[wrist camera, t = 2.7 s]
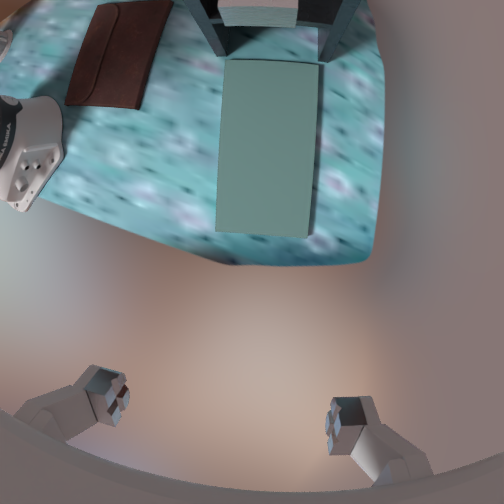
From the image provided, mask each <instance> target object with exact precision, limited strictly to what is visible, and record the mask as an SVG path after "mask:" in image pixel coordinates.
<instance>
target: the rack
mask: <svg viewBox="0 0 504 504" xmlns="http://www.w3.org/2000/svg"><path fill="white" fill-rule="evenodd" d="M183 1H184V2H185V4H186V6H187V7H188V9H189V11H190V12H191V14H192V15H193V17H194V19H195V20H196V22H197V24H198V25H199V27H200V29H201V30H202V32H203V34H204V35H205V37H206V39H207V41H208V42H209V44H210V46H211V47H212V49H213V51H214V53H215V54H216V56H217V57H218V56H227V50H228V39H229V29H230V26H225V25H224V22H223V20H222V17H221V15H220V12H219V10H218V0H183ZM360 1H361V0H298V12H297V19H296V25H299V26H309V27H317V28H318V61H319V62H327V63H328V62H329V60H330V58H331V56H332V54H333V52H334V50H335V48H336V46H337V44H338V43H339V41H340V39H341V37H342V35H343V33H344V31H345V29H346V27H347V25H348V24H349V22H350V20H351V18H352V16H353V14H354V12H355V10H356V8H357V7H358V5H359V3H360Z"/></svg>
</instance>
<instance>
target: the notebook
mask: <svg viewBox="0 0 504 504" xmlns="http://www.w3.org/2000/svg"><path fill="white" fill-rule="evenodd" d="M172 5H173V1H171V0H153V1H136V2H124V3H115V4H102V5H98V6H97V8H96V11H95V13H94V15H93V18H92V20H91V22H90V25H89V27H88V30H87V33H86V35H85V38H84V41H83V43H82V46H81V49H80V52H79V55H78V58H77V61H76V64H75V67H74V71H73V74H72V77H71V81H70V84H69V88H68V92H67V96H66V100H65V104H64V105H66V106H69V105H76V106H100V107H116V108H128V109H136V110H139V107H140V103H141V99H142V96H143V92H144V88H145V85H146V81H147V78H148V74H149V71H150V68H151V64H152V61H153V58H154V55H155V52H156V49H157V46H158V43H159V40H160V37H161V34H162V31H163V29H164V26H165V23H166V21H167V18H168V15H169V13H170V10H171V8H172Z"/></svg>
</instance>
